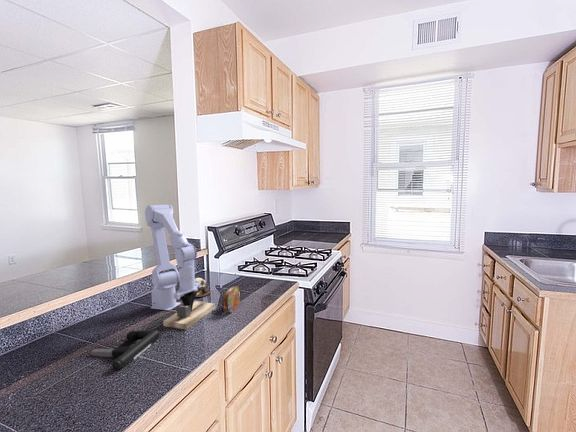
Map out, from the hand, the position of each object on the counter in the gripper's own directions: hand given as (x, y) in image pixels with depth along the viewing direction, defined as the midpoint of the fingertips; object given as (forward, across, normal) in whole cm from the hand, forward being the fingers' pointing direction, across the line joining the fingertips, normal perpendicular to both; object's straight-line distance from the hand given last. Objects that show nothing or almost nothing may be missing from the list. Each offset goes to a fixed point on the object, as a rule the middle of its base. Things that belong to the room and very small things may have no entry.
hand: (188, 310), depth 121 cm
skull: (+3, +24, +12) cm, 27 cm away
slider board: (+3, +1, 0) cm, 3 cm away
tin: (+3, +13, -12) cm, 18 cm away
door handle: (+4, -26, +6) cm, 27 cm away
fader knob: (+1, -3, 0) cm, 3 cm away
